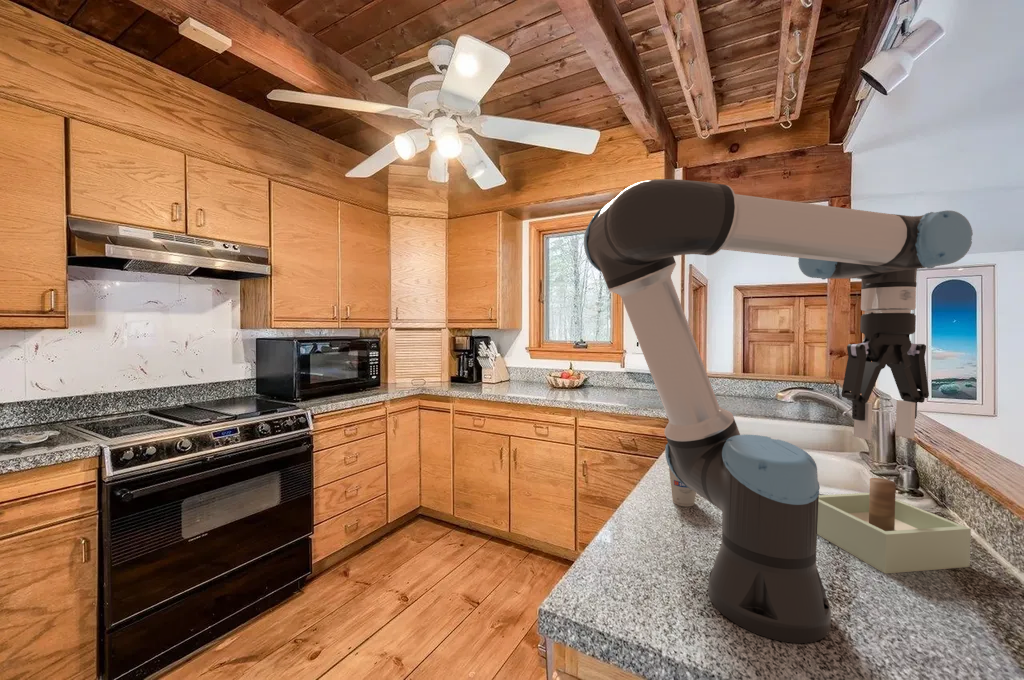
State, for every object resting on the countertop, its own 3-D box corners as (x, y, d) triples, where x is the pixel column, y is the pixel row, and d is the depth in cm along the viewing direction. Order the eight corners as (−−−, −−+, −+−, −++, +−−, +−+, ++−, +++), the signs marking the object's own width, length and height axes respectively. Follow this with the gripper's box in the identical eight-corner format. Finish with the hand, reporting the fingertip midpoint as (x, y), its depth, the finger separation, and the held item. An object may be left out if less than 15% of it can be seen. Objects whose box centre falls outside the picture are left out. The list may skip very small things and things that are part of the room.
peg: (881, 551, 77) (883, 485, 77) (863, 541, 81) (864, 478, 81) (899, 550, 78) (901, 484, 77) (880, 540, 81) (881, 477, 81)
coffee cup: (667, 494, 103) (667, 453, 103) (698, 498, 101) (699, 456, 101) (667, 506, 97) (667, 462, 97) (701, 510, 94) (701, 465, 94)
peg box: (884, 573, 70) (886, 534, 70) (806, 528, 86) (807, 496, 86) (969, 566, 72) (970, 528, 72) (877, 523, 88) (878, 492, 88)
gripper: (854, 311, 73) (851, 444, 74) (961, 311, 76) (956, 440, 76) (818, 312, 80) (815, 433, 81) (916, 313, 83) (912, 430, 84)
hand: (883, 437), depth 79 cm, fingers open, 8 cm apart
